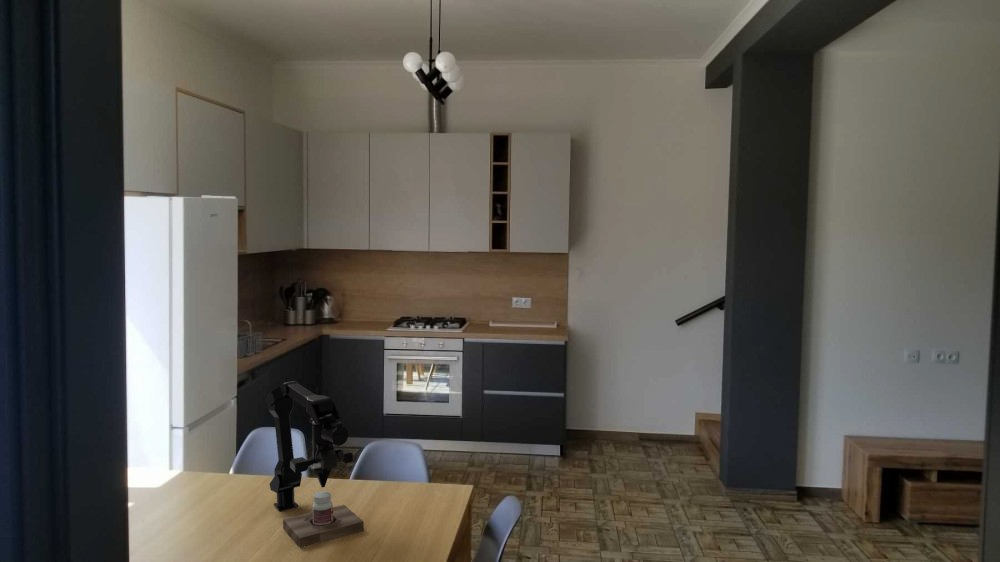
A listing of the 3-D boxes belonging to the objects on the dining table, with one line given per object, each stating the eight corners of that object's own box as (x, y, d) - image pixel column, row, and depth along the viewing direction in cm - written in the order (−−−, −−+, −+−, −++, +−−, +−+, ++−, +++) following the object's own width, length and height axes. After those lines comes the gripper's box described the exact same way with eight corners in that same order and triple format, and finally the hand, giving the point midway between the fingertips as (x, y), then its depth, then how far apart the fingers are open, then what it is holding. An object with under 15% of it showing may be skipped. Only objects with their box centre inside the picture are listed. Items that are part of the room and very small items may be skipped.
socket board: (283, 528, 215) (282, 519, 215) (344, 513, 226) (344, 504, 226) (299, 548, 202) (299, 538, 201) (363, 530, 213) (363, 521, 213)
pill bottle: (336, 530, 213) (335, 495, 212) (316, 535, 210) (315, 499, 209) (329, 523, 218) (328, 489, 217) (310, 528, 215) (309, 493, 214)
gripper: (300, 450, 202) (301, 502, 204) (360, 440, 212) (360, 489, 214) (288, 440, 211) (290, 490, 213) (347, 430, 222) (347, 477, 223)
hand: (322, 487), depth 215 cm, fingers closed
